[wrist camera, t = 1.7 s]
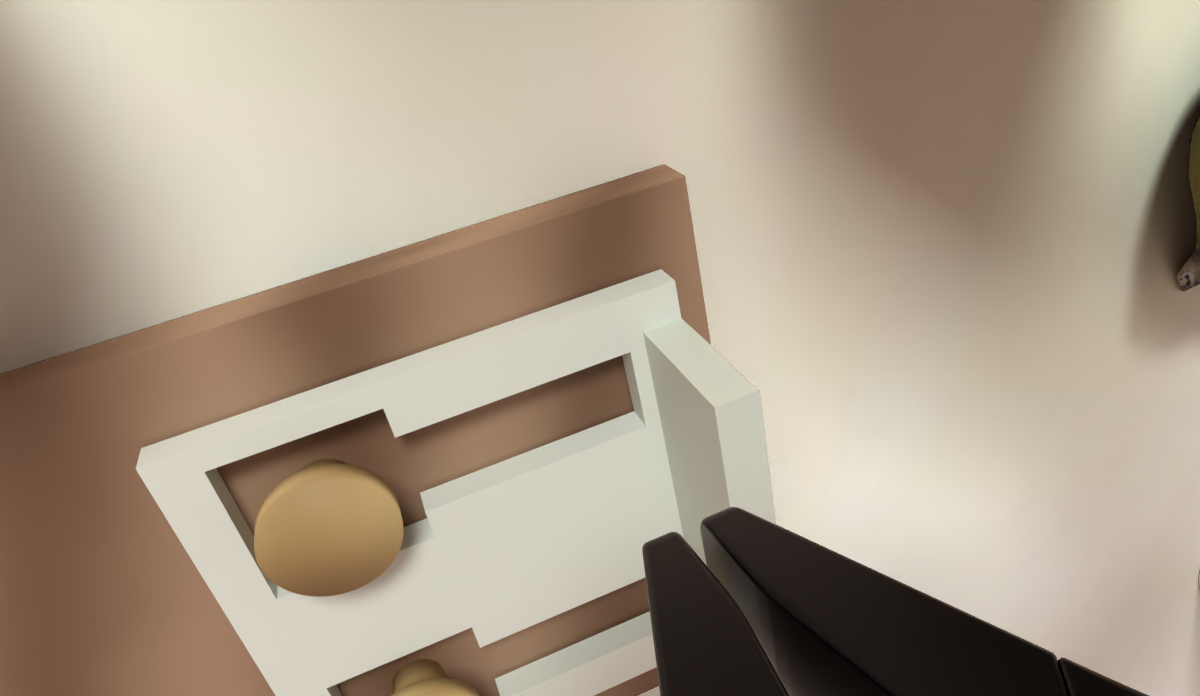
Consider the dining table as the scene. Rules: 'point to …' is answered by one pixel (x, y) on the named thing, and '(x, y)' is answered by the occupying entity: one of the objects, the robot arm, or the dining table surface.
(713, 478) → the panel
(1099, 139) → the dining table surface
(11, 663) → the board
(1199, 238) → the fruit
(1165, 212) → the dining table surface
